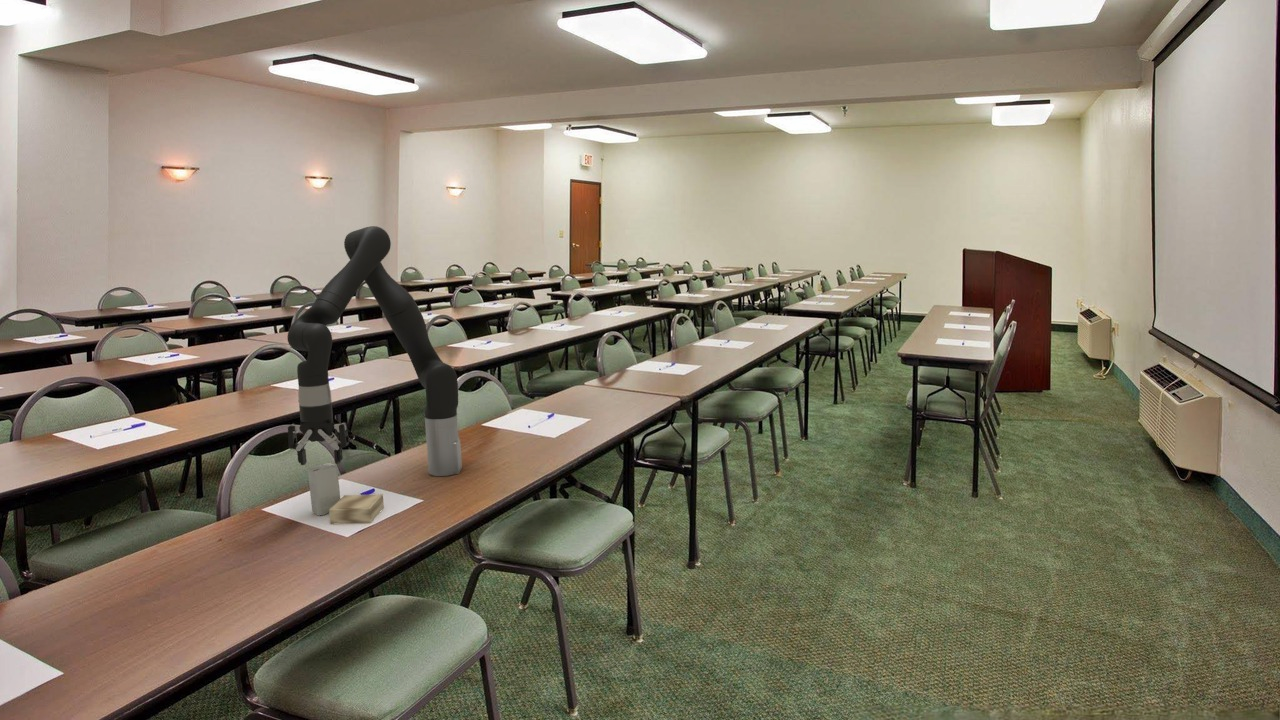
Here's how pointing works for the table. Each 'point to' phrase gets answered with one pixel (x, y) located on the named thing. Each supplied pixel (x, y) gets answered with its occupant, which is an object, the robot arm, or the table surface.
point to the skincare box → (323, 487)
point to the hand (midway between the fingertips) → (320, 463)
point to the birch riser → (356, 509)
